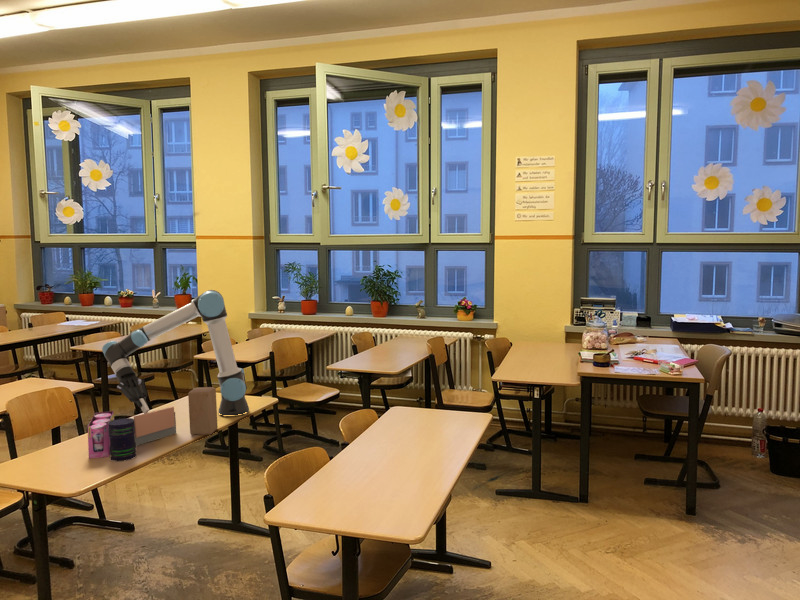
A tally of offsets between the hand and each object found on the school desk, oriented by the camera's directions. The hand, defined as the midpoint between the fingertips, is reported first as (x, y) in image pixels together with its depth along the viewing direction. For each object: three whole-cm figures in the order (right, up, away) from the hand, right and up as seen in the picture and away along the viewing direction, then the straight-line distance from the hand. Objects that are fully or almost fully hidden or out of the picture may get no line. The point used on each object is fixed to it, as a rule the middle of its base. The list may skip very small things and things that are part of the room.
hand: (146, 411), depth 275 cm
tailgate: (+4, -9, -1) cm, 9 cm away
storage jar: (0, -15, -22) cm, 27 cm away
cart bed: (0, -12, +2) cm, 12 cm away
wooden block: (+22, -11, +10) cm, 27 cm away
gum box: (-14, -14, -12) cm, 23 cm away
